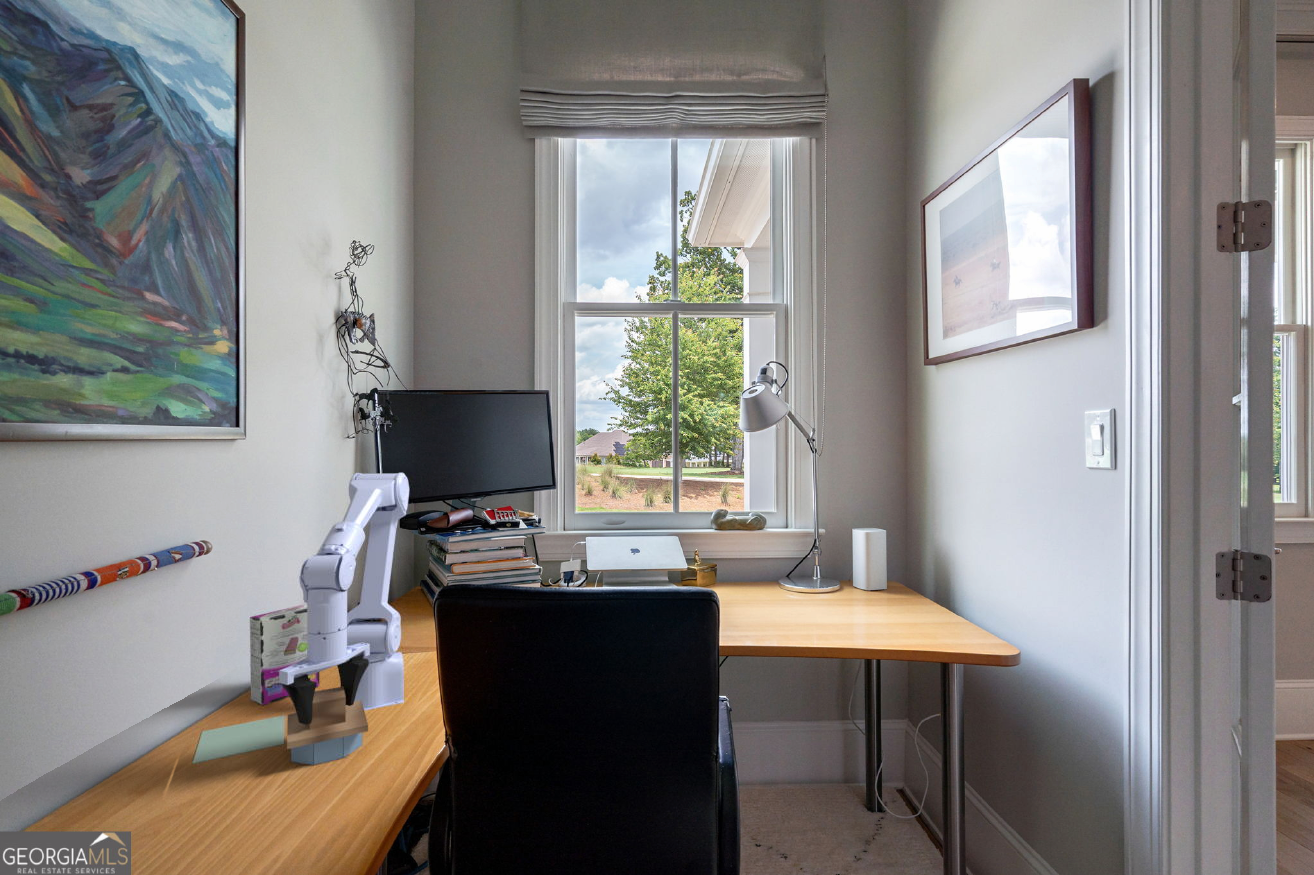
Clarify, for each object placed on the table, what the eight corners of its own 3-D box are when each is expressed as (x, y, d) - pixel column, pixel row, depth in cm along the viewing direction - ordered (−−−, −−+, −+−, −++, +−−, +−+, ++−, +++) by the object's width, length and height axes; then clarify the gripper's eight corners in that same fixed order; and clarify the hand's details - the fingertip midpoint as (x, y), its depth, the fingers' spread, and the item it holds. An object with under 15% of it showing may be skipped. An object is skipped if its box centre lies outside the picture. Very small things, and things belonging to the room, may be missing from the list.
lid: (361, 705, 106) (361, 677, 106) (368, 731, 97) (368, 699, 97) (287, 720, 101) (287, 690, 101) (287, 749, 91) (287, 715, 91)
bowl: (358, 730, 106) (358, 707, 106) (364, 756, 97) (364, 730, 97) (290, 745, 101) (291, 721, 101) (290, 773, 92) (291, 747, 92)
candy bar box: (307, 681, 128) (307, 602, 128) (320, 686, 125) (320, 606, 125) (248, 700, 118) (248, 615, 118) (261, 706, 115) (261, 619, 116)
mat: (284, 718, 110) (284, 715, 110) (283, 747, 100) (283, 743, 100) (202, 735, 104) (202, 731, 104) (192, 767, 94) (192, 763, 94)
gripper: (350, 614, 107) (349, 692, 107) (266, 638, 94) (266, 727, 94) (378, 619, 104) (378, 699, 104) (296, 645, 91) (295, 736, 91)
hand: (327, 713), depth 99 cm, fingers closed on lid, 7 cm apart
